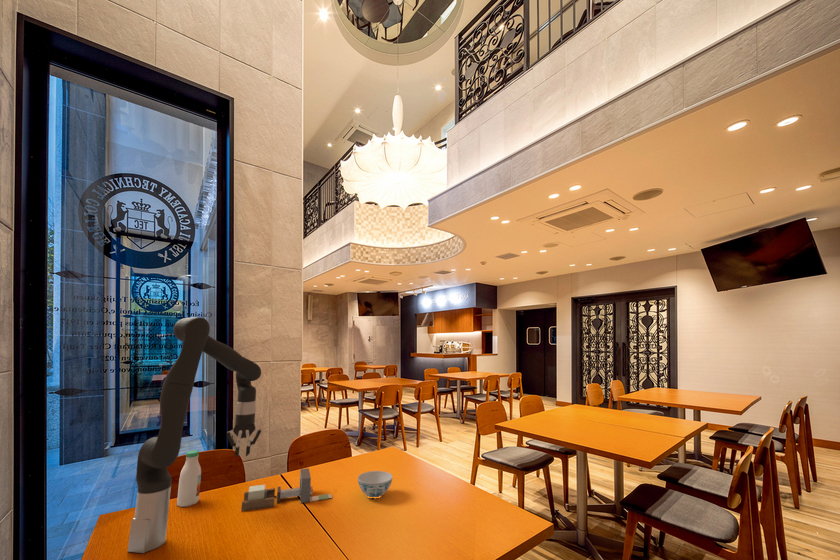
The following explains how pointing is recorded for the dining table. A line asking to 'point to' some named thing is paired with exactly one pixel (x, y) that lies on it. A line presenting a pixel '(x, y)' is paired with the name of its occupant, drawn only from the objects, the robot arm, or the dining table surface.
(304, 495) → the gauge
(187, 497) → the milk bottle
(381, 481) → the chinaware
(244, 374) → the robot arm
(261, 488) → the block
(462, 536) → the dining table surface
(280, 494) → the plunger
